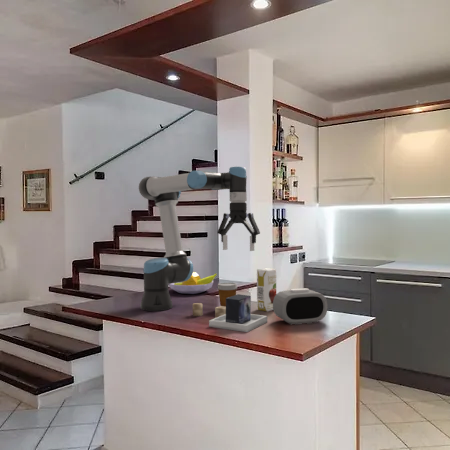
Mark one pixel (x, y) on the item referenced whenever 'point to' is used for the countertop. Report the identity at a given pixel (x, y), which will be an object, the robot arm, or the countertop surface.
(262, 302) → the juice carton
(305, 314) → the alarm clock
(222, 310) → the beech cube
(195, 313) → the beech post
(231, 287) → the disposable coffee cup
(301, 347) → the countertop surface
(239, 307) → the small box
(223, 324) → the tray
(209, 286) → the fruit bowl
